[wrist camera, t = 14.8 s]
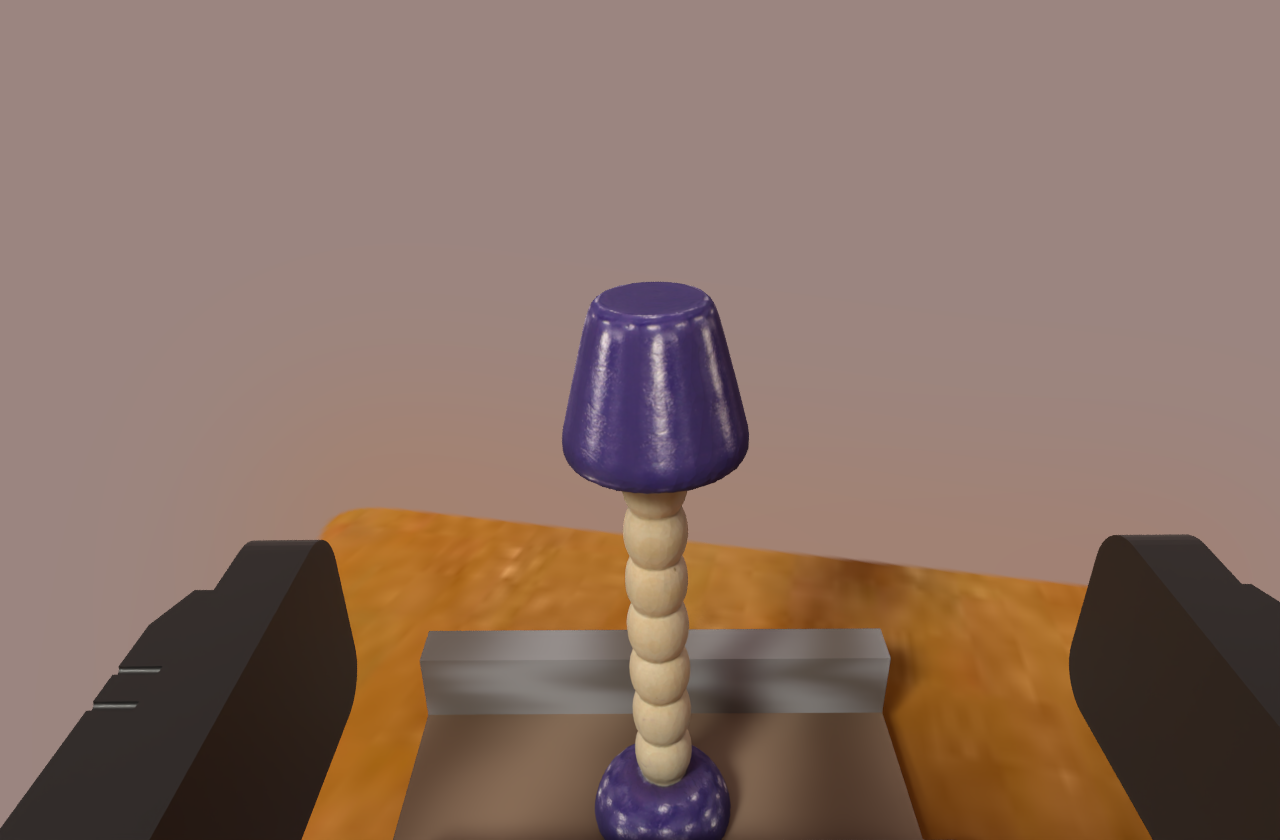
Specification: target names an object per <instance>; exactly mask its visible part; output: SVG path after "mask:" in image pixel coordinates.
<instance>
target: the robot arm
mask: <svg viewBox="0 0 1280 840" xmlns="http://www.w3.org/2000/svg"><path fill="white" fill-rule="evenodd" d="M1069 671H1070V680H1071V686H1072V690H1073V694H1074V697H1075V700H1076V703H1077V705H1078V707H1079V709H1080V711H1081V713H1082V715H1083V717H1084V719H1085V720H1086V722H1087V724H1088V726H1089V727H1090V729H1091V731H1092V733H1093V735H1094V736H1095V738H1096V740H1097V742H1098V743H1099V745H1100V747H1101V749H1102V750H1103V752H1104V754H1105V756H1106V758H1107V759H1108V761H1109V763H1110V765H1111V766H1112V768H1113V770H1114V772H1115V773H1116V775H1117V777H1118V779H1119V780H1120V782H1121V784H1122V786H1123V788H1124V789H1125V791H1126V793H1127V795H1128V796H1129V798H1130V800H1131V802H1132V803H1133V805H1134V807H1135V809H1136V811H1137V812H1138V814H1139V816H1140V818H1141V819H1142V821H1143V823H1144V825H1145V826H1146V828H1147V830H1148V832H1149V834H1150V835H1151V837H1152V839H1153V840H1280V602H1279V601H1277V600H1276V599H1274V598H1272V597H1271V596H1269V595H1268V594H1266V593H1264V592H1263V591H1261V590H1260V589H1258V588H1256V587H1255V586H1253V585H1252V584H1241V583H1240V582H1239V581H1238V580H1237V579H1236V577H1235V576H1234V575H1232V573H1231V572H1230V571H1229V570H1228V569H1227V568H1226V567H1225V566H1224V565H1223V563H1222V562H1221V561H1220V560H1219V559H1218V558H1217V557H1216V556H1215V555H1214V554H1213V553H1212V552H1211V551H1210V549H1208V547H1207V546H1206V545H1205V544H1204V543H1203V542H1202V541H1200V540H1199V539H1198V538H1196V537H1194V536H1191V535H1113V536H1110V537H1108V538H1107V539H1106V540H1105V541H1104V542H1103V543H1102V545H1101V546H1100V548H1099V551H1098V554H1097V557H1096V560H1095V563H1094V567H1093V571H1092V574H1091V578H1090V581H1089V585H1088V588H1087V592H1086V595H1085V599H1084V602H1083V606H1082V609H1081V613H1080V616H1079V620H1078V623H1077V627H1076V630H1075V634H1074V637H1073V641H1072V645H1071V649H1070V656H1069ZM356 681H357V657H356V650H355V645H354V640H353V636H352V631H351V627H350V622H349V618H348V613H347V609H346V604H345V600H344V595H343V591H342V586H341V582H340V577H339V573H338V568H337V564H336V559H335V556H334V553H333V550H332V548H331V546H330V545H329V543H328V542H326V541H324V540H279V541H277V540H273V541H272V540H271V541H250V542H248V543H247V544H246V545H244V547H243V548H242V549H241V550H240V552H239V553H238V555H237V556H236V558H235V559H234V561H233V562H232V563H231V565H230V566H229V568H228V569H227V571H226V572H225V574H224V576H223V577H222V578H221V580H220V581H219V583H218V584H217V586H216V588H215V589H214V590H194V591H193V592H192V593H190V594H189V595H188V596H186V597H185V598H184V599H183V600H181V601H180V602H179V603H177V604H176V605H175V606H173V607H172V608H171V609H169V610H168V611H167V612H166V613H164V614H163V615H162V616H160V617H159V618H158V619H156V620H155V621H154V622H152V623H151V624H150V625H149V626H148V627H147V629H146V630H145V631H144V633H143V634H142V635H141V637H140V638H139V640H138V641H137V642H136V644H135V645H134V646H133V648H132V649H131V650H130V652H129V653H128V655H127V656H126V657H125V659H124V660H123V661H122V663H121V664H120V665H119V673H118V675H112V677H111V678H110V679H109V680H108V682H107V683H106V685H105V686H104V687H103V689H102V690H101V692H100V693H99V694H98V696H97V697H96V698H95V700H94V701H93V703H94V706H93V709H92V711H86V712H85V713H84V715H83V716H82V717H81V719H80V720H79V722H78V723H77V724H76V726H75V727H74V728H73V730H72V731H71V733H70V734H69V735H68V737H67V738H66V739H65V741H64V742H63V743H62V745H61V746H60V748H59V749H58V750H57V752H56V753H55V754H54V756H53V757H52V759H51V760H50V761H49V763H48V764H47V765H46V767H45V768H44V769H43V771H42V772H41V774H40V775H39V777H38V778H37V779H36V780H35V782H34V783H33V785H32V786H31V787H30V789H29V790H28V791H27V793H26V794H25V795H24V797H23V798H22V800H21V801H20V802H19V804H18V805H17V807H16V808H15V809H14V811H13V812H12V813H11V815H10V816H9V817H8V819H7V820H6V822H5V823H4V824H3V826H2V827H1V828H0V840H301V839H302V837H303V834H304V831H305V829H306V826H307V824H308V821H309V818H310V816H311V813H312V811H313V808H314V805H315V803H316V800H317V798H318V795H319V792H320V790H321V787H322V785H323V782H324V780H325V777H326V774H327V772H328V769H329V767H330V764H331V761H332V759H333V756H334V754H335V751H336V748H337V746H338V743H339V741H340V738H341V735H342V733H343V730H344V728H345V725H346V722H347V720H348V717H349V715H350V712H351V709H352V705H353V701H354V696H355V690H356Z"/></svg>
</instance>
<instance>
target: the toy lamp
mask: <svg viewBox="0 0 1280 840" xmlns="http://www.w3.org/2000/svg"><path fill="white" fill-rule="evenodd" d="M748 442H749V432H748V424H747V421H746V417H745V413H744V408H743V404H742V400H741V396H740V392H739V388H738V384H737V380H736V377H735V373H734V369H733V366H732V362H731V358H730V354H729V350H728V346H727V342H726V338H725V335H724V331H723V327H722V324H721V320H720V317H719V314H718V311H717V309H716V306H715V304H714V302H713V301H712V299H711V298H710V297H709V296H708V295H707V294H706V293H705V292H703V291H702V290H700V289H698V288H696V287H693V286H689V285H685V284H679V283H671V282H641V283H632V284H627V285H621V286H617V287H614V288H612V289H609V290H607V291H604V292H603V293H602V294H600V295H599V296H597V297H596V298H595V299H594V300H593V302H592V303H591V305H590V307H589V310H588V313H587V316H586V319H585V323H584V328H583V332H582V337H581V342H580V346H579V351H578V356H577V361H576V366H575V370H574V375H573V380H572V385H571V391H570V395H569V400H568V406H567V411H566V416H565V421H564V426H563V435H562V445H563V452H564V455H565V458H566V460H567V462H568V464H569V465H570V466H571V467H572V468H573V469H574V471H575V472H576V473H578V474H579V475H580V476H582V477H583V478H585V479H586V480H588V481H591V482H594V483H596V484H598V485H600V486H602V487H606V488H609V489H614V490H616V491H622V492H623V496H624V499H625V501H626V503H627V505H628V509H627V511H626V514H625V518H624V524H623V536H624V543H625V547H626V549H627V551H628V554H629V556H630V557H629V559H628V561H627V566H626V573H625V585H626V591H627V594H628V597H629V599H630V601H631V605H630V607H629V610H628V615H627V630H628V637H629V641H630V643H631V645H632V648H633V650H632V653H631V656H630V663H629V669H630V677H631V681H632V684H633V687H634V689H635V694H634V698H633V717H634V722H635V725H636V728H637V730H638V732H637V735H636V740H635V744H633V745H631V746H629V747H627V748H626V749H625V750H623V751H622V752H621V753H620V754H618V755H617V756H616V757H615V758H614V759H613V760H612V762H611V763H610V764H609V766H608V767H607V769H606V771H605V773H604V774H603V776H602V779H601V781H600V783H599V787H598V791H597V794H596V799H595V816H596V821H597V824H598V828H599V831H600V833H601V835H602V836H603V838H604V839H605V840H721V839H722V838H723V836H724V835H725V832H726V829H727V827H728V824H729V818H730V808H731V804H730V797H729V792H728V789H727V786H726V783H725V780H724V778H723V776H722V774H721V772H720V770H719V769H718V768H717V766H716V764H715V763H714V762H713V761H712V760H711V759H710V757H709V756H707V755H706V754H705V753H704V752H703V751H701V750H700V749H698V748H697V747H695V746H693V745H692V744H691V737H690V734H689V731H688V729H687V728H688V725H689V722H690V715H691V704H690V698H689V695H688V692H687V689H686V688H687V685H688V682H689V678H690V660H689V655H688V652H687V650H686V647H685V644H686V642H687V638H688V633H689V620H688V614H687V610H686V607H685V604H684V602H683V600H684V598H685V596H686V592H687V586H688V573H687V566H686V563H685V560H684V558H683V556H682V554H683V553H684V550H685V547H686V544H687V538H688V525H687V519H686V515H685V512H684V510H683V508H682V504H683V502H684V500H685V497H686V494H687V491H689V490H693V489H696V488H699V487H702V486H705V485H708V484H711V483H714V482H716V481H717V480H720V479H722V478H723V477H725V476H726V475H728V474H730V473H731V472H732V471H733V470H735V469H737V467H738V466H739V464H740V463H741V462H742V461H743V459H744V457H745V455H746V453H747V450H748Z"/></svg>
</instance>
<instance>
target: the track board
mask: <svg viewBox="0 0 1280 840" xmlns="http://www.w3.org/2000/svg"><path fill="white" fill-rule="evenodd" d="M685 647H686V650H687V652H688V655H689V660H690V678H689V682H688V685H687V688H686V689H687V692H688V695H689V698H690V704H691V715H690V722H689V725H688V728H687V729H688V731H689V734H690V737H691V744H692V745H693V746H695V747H697V748H698V749H700V750H701V751H703V752H704V753H705V754H706V755H707V756H709V757H710V759H711V760H712V761H713V762H714V763H715V764H716V766H717V768H718V769H719V770H720V772H721V774H722V776H723V778H724V780H725V783H726V786H727V789H728V792H729V797H730V804H731V808H730V818H729V824H728V827H727V829H726V832H725V835H724V836H723V838H722V839H721V840H923V838H922V835H921V832H920V829H919V826H918V822H917V819H916V816H915V813H914V810H913V807H912V804H911V801H910V798H909V794H908V791H907V788H906V785H905V782H904V779H903V776H902V773H901V770H900V766H899V763H898V760H897V757H896V754H895V751H894V748H893V745H892V742H891V738H890V735H889V732H888V729H887V726H886V723H885V720H884V717H883V714H882V710H883V704H884V698H885V691H886V685H887V679H888V672H889V666H890V660H891V657H890V655H889V652H888V649H887V646H886V643H885V641H884V638H883V635H882V632H881V630H880V629H717V630H689V633H688V638H687V642H686V644H685ZM632 650H633V648H632V645H631V643H630V641H629V637H628V630H538V631H429V633H428V637H427V640H426V643H425V646H424V649H423V652H422V655H421V659H420V665H421V671H422V677H423V683H424V690H425V696H426V702H427V708H428V718H427V722H426V725H425V729H424V732H423V736H422V739H421V743H420V747H419V750H418V754H417V757H416V761H415V764H414V768H413V771H412V775H411V778H410V782H409V785H408V789H407V792H406V796H405V799H404V803H403V806H402V810H401V813H400V817H399V820H398V824H397V827H396V831H395V835H394V838H393V840H605V839H604V838H603V836H602V835H601V833H600V831H599V828H598V824H597V821H596V816H595V799H596V794H597V791H598V787H599V783H600V781H601V779H602V776H603V774H604V773H605V771H606V769H607V767H608V766H609V764H610V763H611V762H612V760H613V759H614V758H615V757H616V756H617V755H618V754H620V753H621V752H622V751H623V750H625V749H626V748H627V747H629V746H631V745H633V744H635V740H636V735H637V732H638V730H637V728H636V725H635V722H634V717H633V698H634V694H635V689H634V687H633V684H632V681H631V677H630V669H629V663H630V656H631V653H632Z"/></svg>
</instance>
